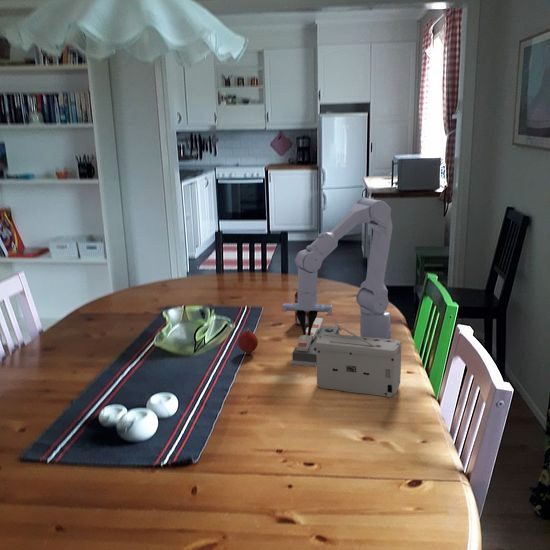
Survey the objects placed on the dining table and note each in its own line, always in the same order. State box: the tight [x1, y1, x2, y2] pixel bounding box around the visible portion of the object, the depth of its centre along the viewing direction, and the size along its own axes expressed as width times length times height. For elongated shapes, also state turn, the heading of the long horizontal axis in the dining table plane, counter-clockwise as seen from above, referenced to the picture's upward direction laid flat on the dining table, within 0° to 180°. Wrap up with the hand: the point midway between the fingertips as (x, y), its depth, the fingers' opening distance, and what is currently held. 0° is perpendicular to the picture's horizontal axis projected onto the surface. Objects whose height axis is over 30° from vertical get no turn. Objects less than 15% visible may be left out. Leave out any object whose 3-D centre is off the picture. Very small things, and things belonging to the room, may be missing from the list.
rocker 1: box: [295, 334, 312, 351], centre depth 162 cm, size 3×6×1 cm, turn 163°
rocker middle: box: [306, 327, 318, 340], centre depth 170 cm, size 3×6×1 cm, turn 163°
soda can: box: [294, 288, 309, 327], centre depth 191 cm, size 7×7×12 cm
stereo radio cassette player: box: [316, 314, 402, 398], centre depth 141 cm, size 21×8×20 cm, turn 70°
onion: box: [237, 328, 259, 355], centre depth 166 cm, size 6×6×8 cm
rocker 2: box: [312, 317, 324, 332], centre depth 177 cm, size 3×6×1 cm, turn 163°
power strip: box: [290, 324, 341, 368], centre depth 170 cm, size 9×27×4 cm, turn 163°
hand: (306, 334), depth 167 cm, fingers closed
